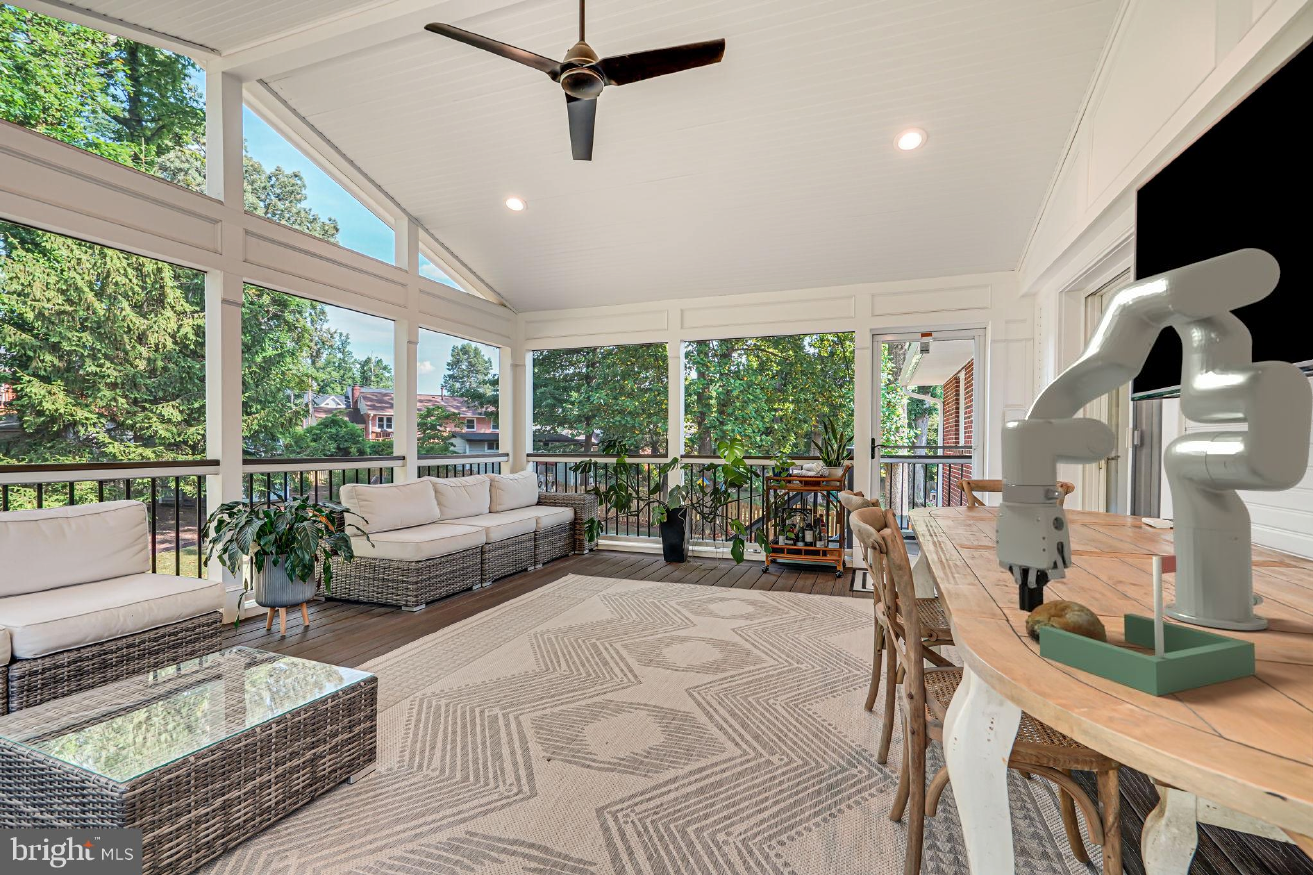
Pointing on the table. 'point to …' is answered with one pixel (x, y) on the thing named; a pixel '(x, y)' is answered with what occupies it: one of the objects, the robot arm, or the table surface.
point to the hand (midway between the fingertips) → (1031, 610)
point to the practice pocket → (1179, 668)
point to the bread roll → (1065, 620)
